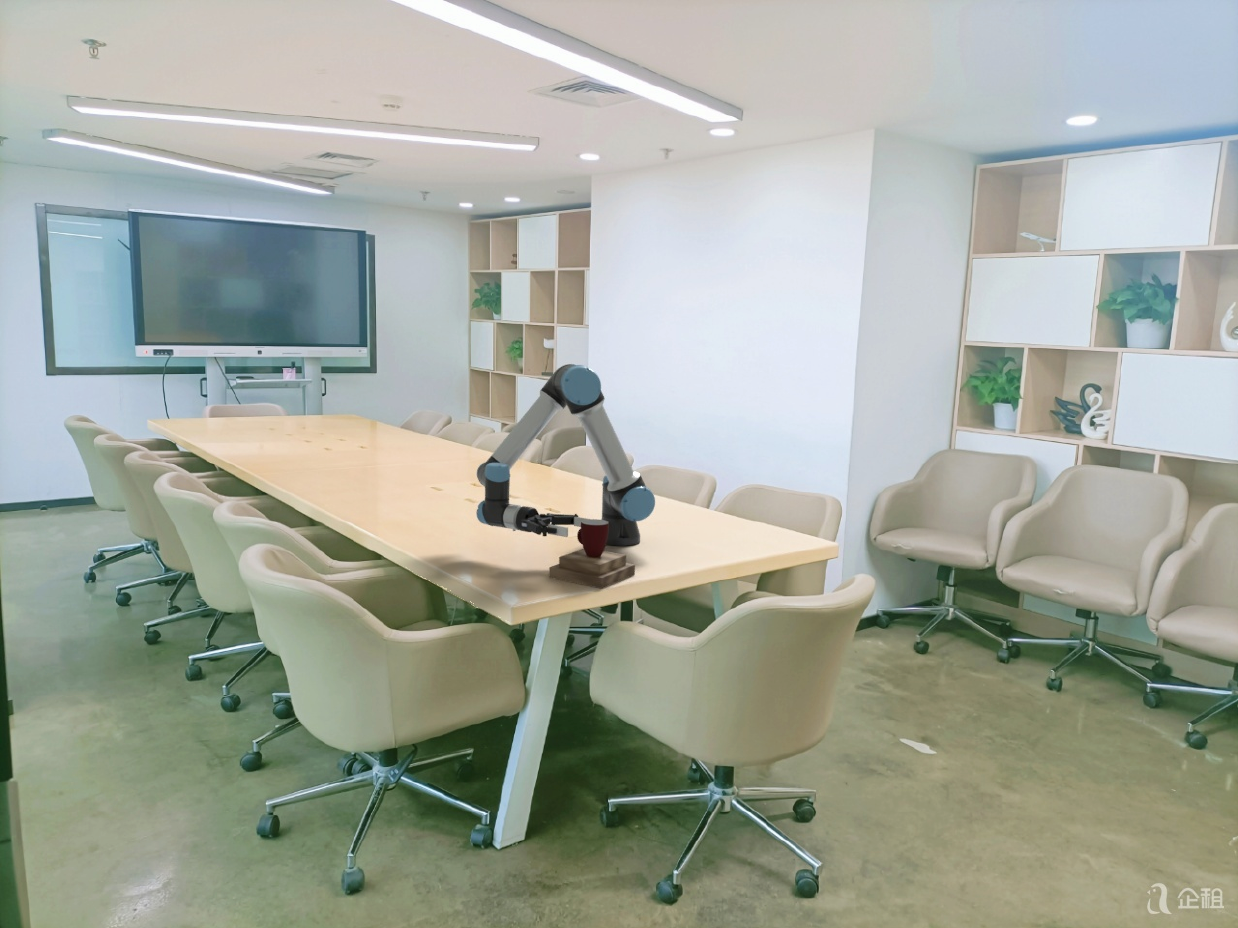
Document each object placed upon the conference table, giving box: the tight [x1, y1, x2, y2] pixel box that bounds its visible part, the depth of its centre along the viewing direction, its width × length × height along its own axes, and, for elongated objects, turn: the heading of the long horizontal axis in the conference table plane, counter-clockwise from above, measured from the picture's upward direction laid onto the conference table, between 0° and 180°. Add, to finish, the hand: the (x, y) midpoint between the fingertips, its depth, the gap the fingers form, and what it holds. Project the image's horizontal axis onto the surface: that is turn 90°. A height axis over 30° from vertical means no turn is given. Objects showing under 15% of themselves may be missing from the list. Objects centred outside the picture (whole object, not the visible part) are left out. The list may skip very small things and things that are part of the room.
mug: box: [576, 518, 609, 557], centre depth 250 cm, size 11×8×10 cm
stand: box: [548, 548, 636, 589], centre depth 251 cm, size 18×18×6 cm
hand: (580, 528), depth 251 cm, fingers open, 13 cm apart
